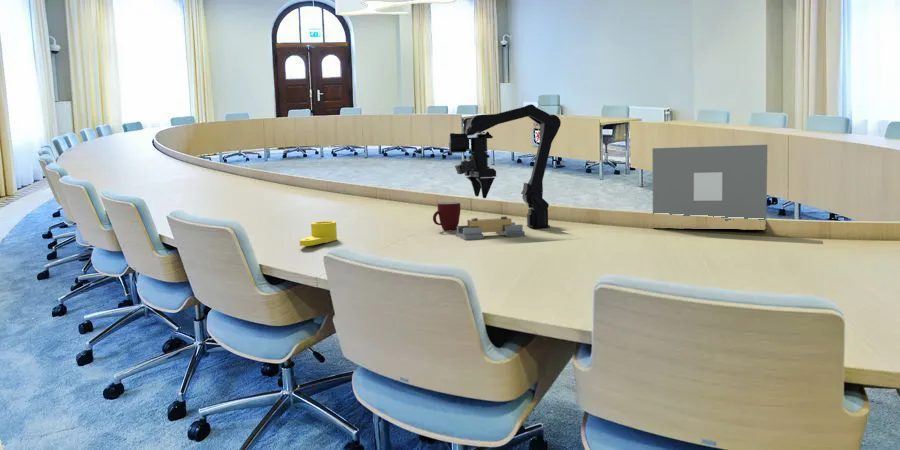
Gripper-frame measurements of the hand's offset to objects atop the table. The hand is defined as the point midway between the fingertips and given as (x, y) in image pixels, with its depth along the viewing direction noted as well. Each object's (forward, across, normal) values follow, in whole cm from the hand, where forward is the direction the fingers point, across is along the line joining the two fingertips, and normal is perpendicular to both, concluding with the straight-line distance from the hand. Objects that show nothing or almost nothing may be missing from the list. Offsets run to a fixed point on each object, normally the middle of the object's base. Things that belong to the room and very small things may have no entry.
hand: (480, 197), depth 240 cm
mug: (+12, -6, -11) cm, 17 cm away
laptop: (+12, +22, +75) cm, 80 cm away
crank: (+12, -3, -56) cm, 58 cm away
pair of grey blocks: (+12, +13, -1) cm, 18 cm away
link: (+10, +13, -1) cm, 17 cm away
